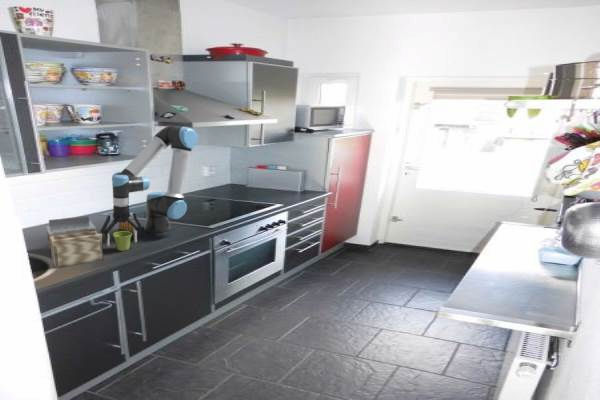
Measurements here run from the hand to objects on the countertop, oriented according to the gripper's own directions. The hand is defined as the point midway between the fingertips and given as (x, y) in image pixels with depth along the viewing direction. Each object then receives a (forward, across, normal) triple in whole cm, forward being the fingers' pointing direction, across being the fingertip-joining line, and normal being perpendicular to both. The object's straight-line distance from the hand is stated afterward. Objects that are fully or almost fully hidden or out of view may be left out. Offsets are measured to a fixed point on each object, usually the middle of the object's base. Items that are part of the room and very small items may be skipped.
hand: (122, 243), depth 211 cm
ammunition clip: (+3, -6, -16) cm, 18 cm away
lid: (-8, +22, -11) cm, 26 cm away
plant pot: (+4, 0, 0) cm, 4 cm away
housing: (+4, +22, -4) cm, 22 cm away
